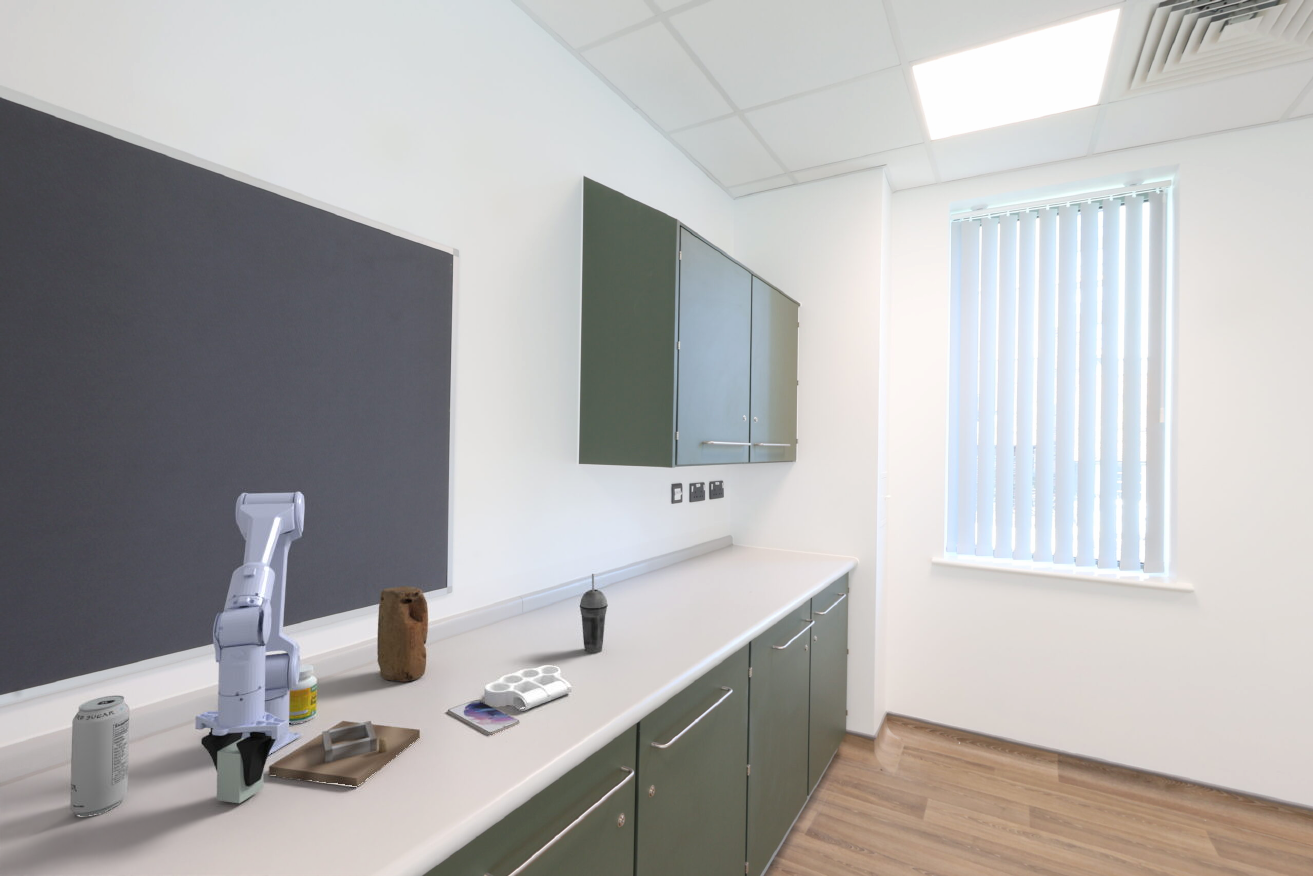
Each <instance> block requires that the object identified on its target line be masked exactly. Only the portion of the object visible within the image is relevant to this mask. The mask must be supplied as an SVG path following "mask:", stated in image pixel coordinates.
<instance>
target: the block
mask: <svg viewBox="0 0 1313 876" xmlns="http://www.w3.org/2000/svg"><path fill="white" fill-rule="evenodd" d="M378 603H379V605H378V617H377V618H378V619H377V641H376V642H377V650H376V651H377V653H376V654H377V664H378V666H379V669H380V671H379V674H380V677H382V678H383V679H386V681H387V680H388V681H391V682H395V681H397V682H405V683H406V682H412V681H415V680H418V679H420V678H422V677H423V676H424V674H425V673H426V668H427V648H426V647H425V646H426V645H425V644H426V643H427V638H428V631H429V630H428V629H429V609H428V602H427V600H426V597H425V594H424V592H423V591H422V589H420V588H418V587H414V586H408V585H402V586H399V587H398V586H397V587H389V588H384V589H382V590H381V592H380V596H379V602H378Z"/></svg>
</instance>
